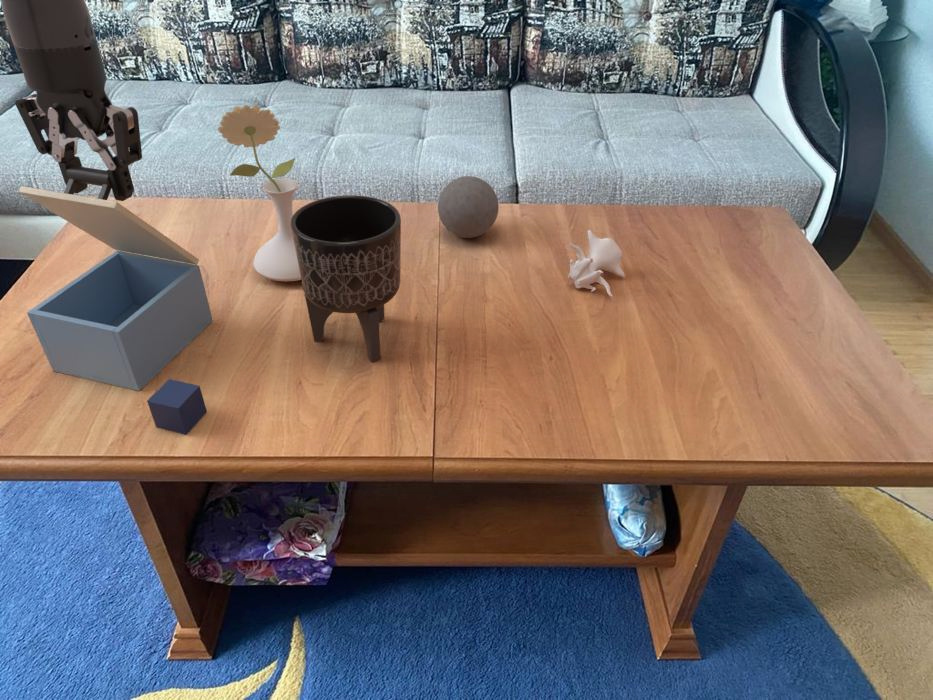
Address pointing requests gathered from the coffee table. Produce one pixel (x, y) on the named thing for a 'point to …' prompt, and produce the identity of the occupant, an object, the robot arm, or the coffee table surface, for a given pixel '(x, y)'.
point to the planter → (348, 261)
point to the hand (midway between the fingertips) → (101, 193)
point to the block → (177, 406)
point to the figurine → (595, 263)
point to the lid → (106, 217)
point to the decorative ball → (468, 207)
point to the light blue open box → (123, 319)
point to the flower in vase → (266, 188)
